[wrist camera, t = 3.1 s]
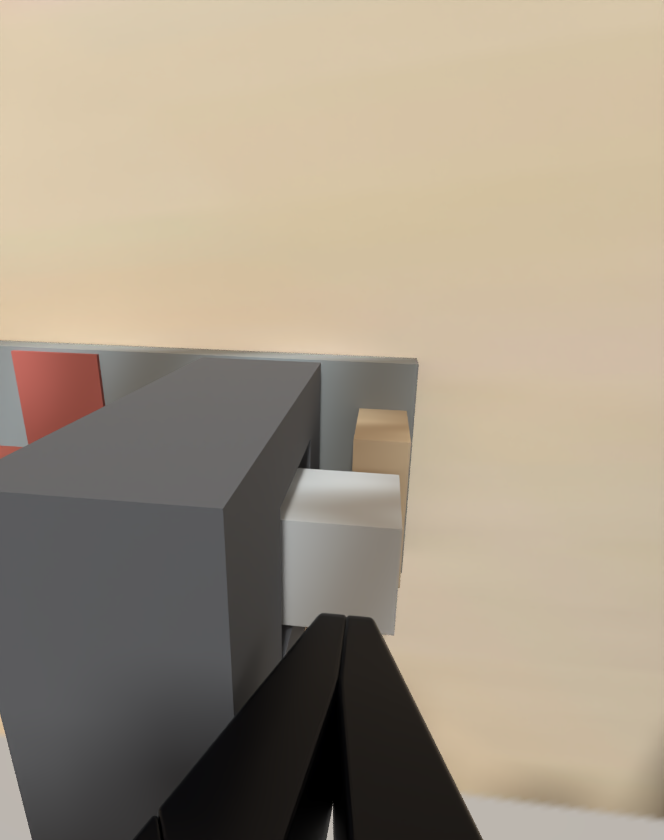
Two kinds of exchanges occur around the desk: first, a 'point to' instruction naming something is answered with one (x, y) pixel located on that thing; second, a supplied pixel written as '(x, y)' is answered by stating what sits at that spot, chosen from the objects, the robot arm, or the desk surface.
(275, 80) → the desk surface
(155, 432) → the collar
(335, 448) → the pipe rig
